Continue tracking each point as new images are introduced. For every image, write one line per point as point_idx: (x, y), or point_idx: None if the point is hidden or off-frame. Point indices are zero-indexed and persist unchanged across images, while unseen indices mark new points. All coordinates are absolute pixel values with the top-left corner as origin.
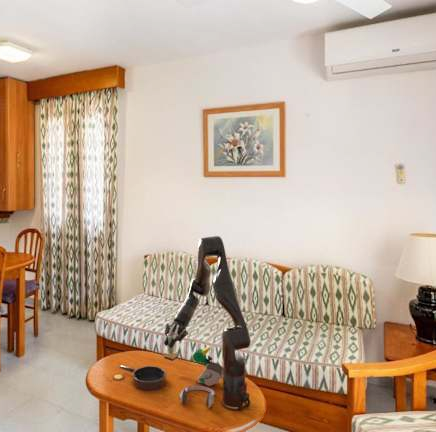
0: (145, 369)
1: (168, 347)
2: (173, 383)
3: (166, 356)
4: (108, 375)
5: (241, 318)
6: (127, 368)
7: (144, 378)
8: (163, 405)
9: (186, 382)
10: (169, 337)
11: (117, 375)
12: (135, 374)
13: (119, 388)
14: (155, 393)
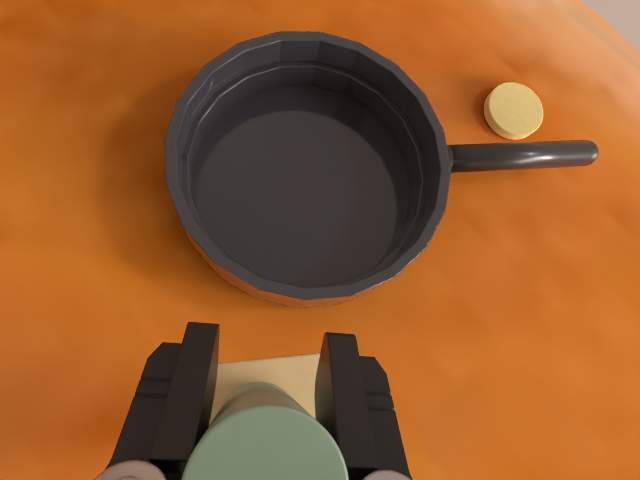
0: (416, 232)
1: (275, 387)
2: (145, 293)
3: (284, 356)
4: (580, 103)
5: None
6: (521, 143)
7: (367, 198)
8: (34, 26)
9: (55, 379)
10: (252, 406)
11: (531, 114)
12: (419, 133)
13: (406, 29)
14: (174, 106)
